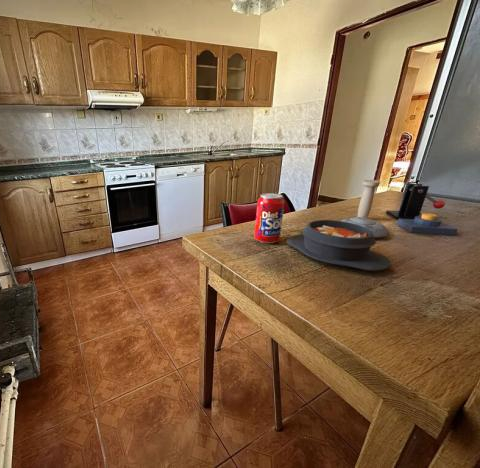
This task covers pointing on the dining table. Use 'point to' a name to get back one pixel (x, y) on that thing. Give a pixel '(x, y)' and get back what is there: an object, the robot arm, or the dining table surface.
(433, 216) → the button
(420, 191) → the bracket
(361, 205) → the handle
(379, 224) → the flying saucer
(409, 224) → the button box
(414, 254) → the dining table surface
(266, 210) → the soda can
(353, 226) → the casserole
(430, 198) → the lever
